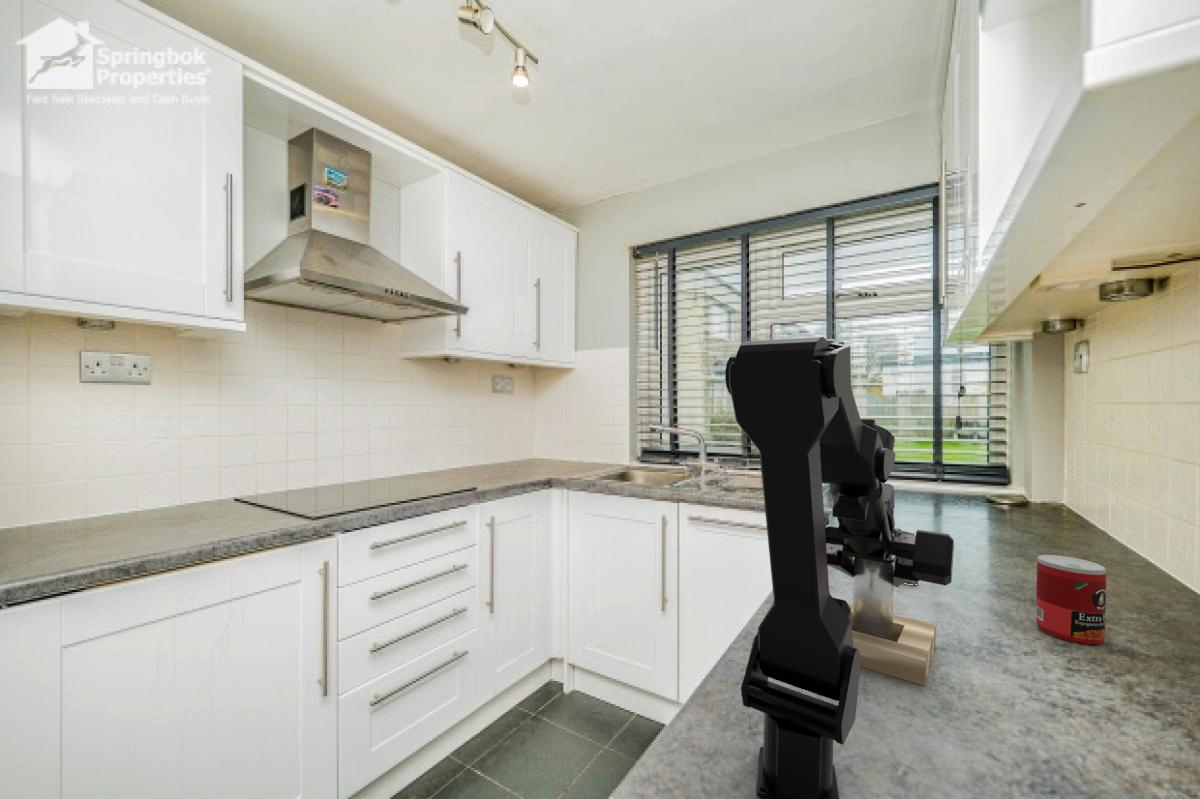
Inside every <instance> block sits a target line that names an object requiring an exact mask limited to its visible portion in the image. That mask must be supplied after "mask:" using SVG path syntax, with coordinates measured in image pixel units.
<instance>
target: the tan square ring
mask: <svg viewBox="0 0 1200 799" xmlns="http://www.w3.org/2000/svg"><path fill="white" fill-rule="evenodd" d="M847 604H848V605H849V607H850V609H851V627H852V635H853V644H854V648H856V649H859V652H860V668H863V669H869V670H871V671H874V672H878V673H880V674H885V675H887V676H891V677H894V678H896V679H897V678H898V679H901V680H905V681H906V682H910V683H914V684H917V685H921V686H924V687H926V684H927V681H928V676H929V673H930V669H931V665H932V662H933V659H934V654H935V652H936V648H937V628H938V627H937V626H938V625H937V624H935V623H933V622H928V621H923V620H919V619H915V618H911V617H907V616H903V615H899V614H894V613H893V634H892V635H891V636H888V637H879V636H872V635H868V634H865V633H862V632H860V631H858V630H856V629H855V628H854V627H853V626H852V619H853V603H848V602H847Z"/></svg>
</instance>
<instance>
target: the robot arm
mask: <svg viewBox="0 0 1200 799" xmlns="http://www.w3.org/2000/svg"><path fill="white" fill-rule="evenodd" d="M851 365H852V364H851V345H850V344H849V345H848V344H845V342H843V341H838V340H836V339H835V338H829V339H828V338H827V339H826V338H825V337H824V336H815V337H801V338H799V337H798V338H797V337H796V338H795V337H794V338H780V339H779V338H778V339H777V338H776V339H762V340H761V339H760V340H746V341H743V342H742V343H741V344H740V346H739V347H738V350H737V352H736V353H735V354H732V355H731V356H729V357H728V360H727V362H726V366H725V369H724V370H725V371H724V375H725V377H724V379H725V386H726V389H727V392H728V393H729V395H730V396H731V402H732V408H733V413H734V416H735V417H734V418H735V421H736V423H737V424H738V427H740V428H741V430H742V431H743V432H744V434H745V435H746V436H747V438H748V439H749V440H750V441H751V442H752V444H753V445H754V446H755V448H756V449H757V450H758V453H759V460H760V468H761V470H760V471H761V481H762V491H763V500H764V513H765V521H766V522H765V523H766V532H767V534H766V535H767V543H768V544H767V545H768V554H769V564H770V565H769V566H770V575H771V584H772V585H771V586H772V592H773V593H772V596H773V597H772V598H773V601H772V603H771V605H770V607H769V609H768V610H767V612H766V614H765V615H764V617H763V619H762V620H761V622H760V624H759V625H758V627H757V633H756V635H755V636H754V637H753V641H752V644H751V649H750V653H749V658H748V661H747V665H746V669H745V673H744V676H743V680H742V682H741V686H740V689H741V690H740V693H741V695H740V696H741V699H742V706H743V707H747V708H749V709H751V708H752V709H754V710H757V711H759V712H761V713H764V715H763V716H764V717H763V745H762V746H760V748H759V753H758V767H757V777H756V796H757V797H758V798H760V799H840V797H839V791H838V790H839V789H838V782H837V776H836V768H835V765H834V741H835V742H836V743H837V744H839V745H842V746H844V745H845V742H846V740H847V738H848V736H849V734H850V731H851V730H852V728H853V726H854V724H855V721H856V717H857V709H858V708H857V706H858V705H857V704H858V694H859V684H860V672H861V666H860V652H859V649H856V648H854V644H853V635H852V627H851V609H850V607H849V605H848V604H847V603H848V602H847V601H846V600H844V599H840V598H837V597H833V596H832V595H831V593H830V585H829V583H830V582H829V581H830V580H829V568H828V567H831V568H833V569H835V570H838V571H839V572H842V573H843V574H845V575H847V576H848V577H850V578H852V579H854V557H856V558H861V559H866V560H872V561H877V562H882V563H884V562H885V560H891V558H892V555H895V556H896V563H895V570H894V578H893V585H894V588H899V587H901V585H904V584H903V583H906V582H909V581H914V582H918V583H919V582H920V581H921V582H925V583H930V584H936V585H940V586H941V585H942V586H948V585H949V584H952V579H953V566H954V552H955V542H954V539H953V537H952V536H951V535H950V534H949V533H943V532H936V531H929V530H923V529H917V530H916V533H915V535H910V534H901V535H900V536H899V537H895V536H891V535H890V531H891V532H894V528H896V527H895V526H896V522H895V517H894V514H895V513H894V512H895V511H894V510H895V506H896V505H895V504H896V503H895V488H894V485H892V484H889V483H887V481H888V480H889V477H890V475H891V473H892V472H893V470H894V467H895V466H894V465H895V462H896V461H895V460H896V453H895V452H894V448H895V443H896V438H895V435H893V433H892V432H890V430H888V429H886V428H885V427H883V426H880V425H877V424H876V423H877V422H876V420H875V419H873V418H872V419H868V418H867V419H866V418H861V417H860V413H859V410H858V406H857V403H856V400H855V396H854V392H853V388H852V372H851V371H852V370H851ZM823 484H828V485H830V488H829V490H830V495H831V499H832V502H833V503H832V504H833V505H832V511H831V512H832V513H831V514H832V517H833V518H837V523H838V527H836V526H828V525H829V524H830V518H829V516H826V515H825V508H824V507H825V506H824V494H823V493H824V492H823ZM769 678H770V679H772V680H774V681H775V680H776V681H778V682H781V683H783V684H786V685H790V686H793V687H796V688H799V689H801V690H805V691H807V692H810V693H812V694H815V695H818V696H821V697H825V698H826V699H829V700H833V701H835V702H838V704H837V705H836V704H834V703H831V702H828V701H826V700H823V699H821V698H820V699H819V698H817V697H815V696H812V695H808V694H805V693H804V692H800V691H797V690H794V689H791V688H789V687H786V686H783V685H781V684H778V683H775V682H771V681H769Z"/></svg>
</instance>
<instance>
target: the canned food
mask: <svg viewBox="0 0 1200 799" xmlns="http://www.w3.org/2000/svg"><path fill="white" fill-rule="evenodd" d="M1106 570H1107V569H1106V567H1105V566H1103V565H1101V564H1099V563H1096V562H1094V561H1089V560H1086V559H1081V558H1077V557H1072V556H1064V555H1057V554H1056V555H1055V554H1041V555H1038V557H1037V561H1036V601H1035V602H1036V603H1035V604H1036V606H1035V608H1036V612H1035V621H1036V624H1037V627H1038V628H1039V630H1040V631H1042V632H1044V633H1046V634H1047V635H1049V636H1051V637H1055V638H1056V639H1059V638H1060V639H1059V640H1062V639H1063V641H1066V640H1067V641H1066V642H1070V641H1071V643H1074V642H1076V643H1075V644H1079V643H1081V644H1080V645H1086V644H1096V645H1095V646H1097V644H1098V645H1101V644H1103V642H1104V640H1105V638H1106V609H1107V608H1106V606H1107V605H1106V604H1107V603H1106V600H1107V571H1106Z"/></svg>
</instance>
